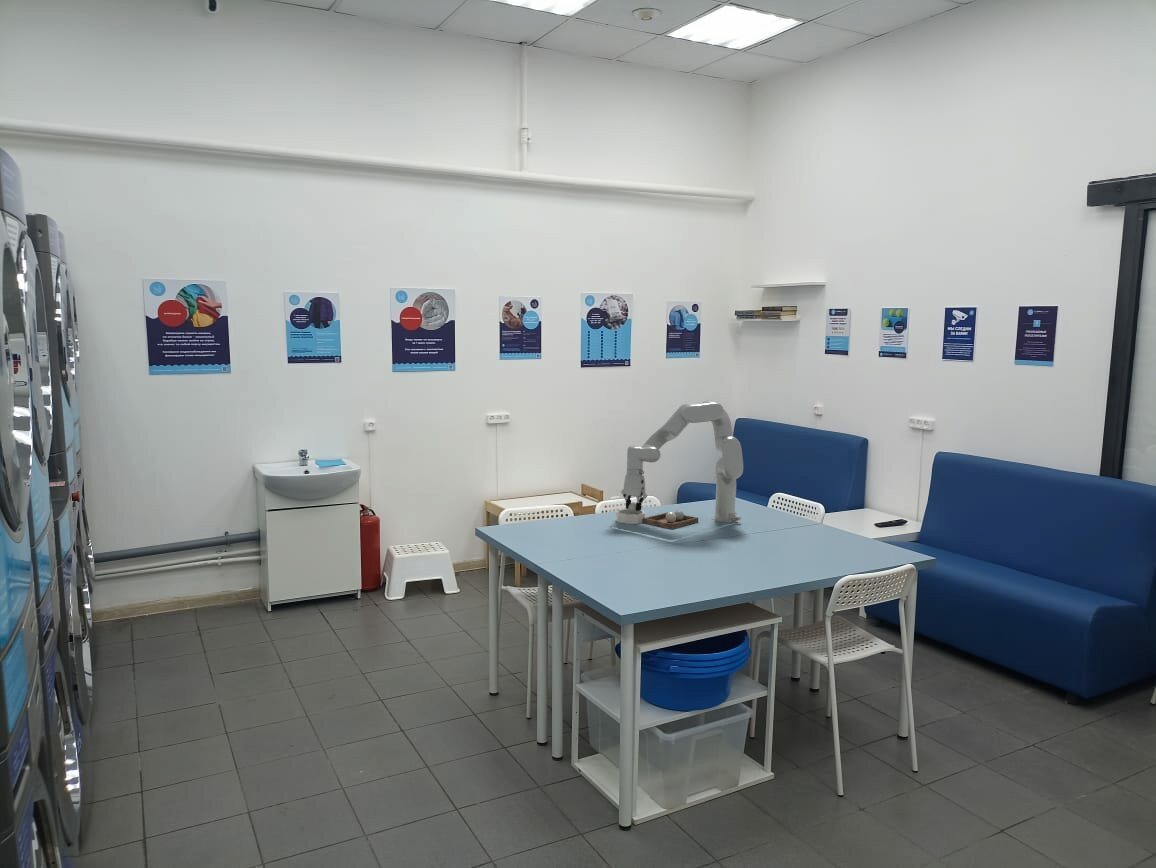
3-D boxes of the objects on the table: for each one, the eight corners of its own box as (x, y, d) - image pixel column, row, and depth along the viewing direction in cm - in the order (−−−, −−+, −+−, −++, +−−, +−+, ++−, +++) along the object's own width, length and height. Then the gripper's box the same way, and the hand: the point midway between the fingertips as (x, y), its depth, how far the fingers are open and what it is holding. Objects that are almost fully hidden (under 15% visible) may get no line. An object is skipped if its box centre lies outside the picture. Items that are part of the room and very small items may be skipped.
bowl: (649, 522, 386) (649, 512, 386) (632, 526, 377) (632, 516, 376) (628, 517, 395) (628, 507, 394) (611, 521, 386) (611, 511, 385)
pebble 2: (678, 522, 384) (678, 512, 383) (671, 524, 380) (672, 513, 379) (669, 520, 387) (669, 510, 386) (663, 522, 383) (663, 512, 383)
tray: (698, 523, 386) (698, 517, 385) (672, 530, 370) (672, 524, 370) (669, 517, 397) (669, 511, 397) (642, 524, 382) (642, 518, 381)
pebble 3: (685, 520, 388) (686, 510, 388) (679, 522, 385) (680, 511, 384) (677, 518, 392) (677, 508, 391) (671, 520, 388) (671, 510, 388)
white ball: (640, 513, 387) (641, 503, 386) (634, 515, 383) (634, 504, 383) (632, 511, 390) (632, 501, 390) (625, 513, 387) (626, 502, 386)
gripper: (653, 473, 382) (652, 511, 384) (625, 469, 393) (624, 505, 395) (644, 475, 376) (642, 513, 378) (615, 470, 388) (614, 507, 390)
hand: (633, 509), depth 387 cm, fingers open, 5 cm apart
